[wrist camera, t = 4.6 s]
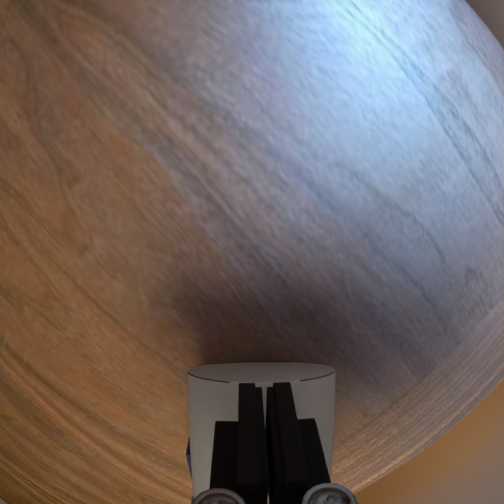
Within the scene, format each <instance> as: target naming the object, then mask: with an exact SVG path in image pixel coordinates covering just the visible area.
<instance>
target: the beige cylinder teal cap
mask: <svg viewBox="0 0 504 504" xmlns="http://www.w3.org/2000/svg"><path fill="white" fill-rule="evenodd" d="M187 374H188V412H189V435H190V454H191V470H192V484H193V497H192V500H191V503H192V501H193V500H194V498H195V497H196V496H197V495H198V494H199V493H201V492H203V491H205V490H208V489H209V486H210V474H211V462H212V451H213V440H214V429H215V422H216V421H238V394H239V383H255V387H262V395H263V408H264V421H265V422H266V396H267V387H273V383H274V382H290V383H291V388H292V393H293V398H294V404H295V409H296V414H297V419H307V418H314V419H315V421H316V424H317V428H318V432H319V436H320V440H321V444H322V448H323V452H324V456H325V460H326V464H327V468H328V472H329V476H330V481H331V472H332V458H333V440H334V416H335V369H334V368H333V367H330V366H327V365H321V364H312V363H293V362H248V363H224V364H211V365H203V366H197V367H194V368H191V369H189V370H188V372H187ZM267 504H269V495H268V501H267Z"/></svg>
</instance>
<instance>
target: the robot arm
mask: <svg viewBox="0 0 504 504" xmlns="http://www.w3.org/2000/svg"><path fill="white" fill-rule="evenodd" d="M268 495H269V504H358V502H357V500H356V498H355V496H354V495H353V493H352V492H351V491H350V490H349V489H348V488H346V487H345V486H342V485H339V484H336V483H331V481H330V476H329V472H328V468H327V464H326V460H325V456H324V452H323V448H322V444H321V440H320V436H319V432H318V428H317V424H316V421H315V419H314V418H307V419H297V414H296V409H295V404H294V398H293V393H292V388H291V383H290V382H274V383H273V387H267V396H266V422H265V421H264V408H263V395H262V387H255V383H239V394H238V421H216V422H215V429H214V440H213V451H212V462H211V474H210V486H209V489H208V490H205V491H203V492H201V493H199V494H198V495H197V496H196V497H195V498H194V500H193V501H192V503H191V504H267V501H268Z"/></svg>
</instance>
